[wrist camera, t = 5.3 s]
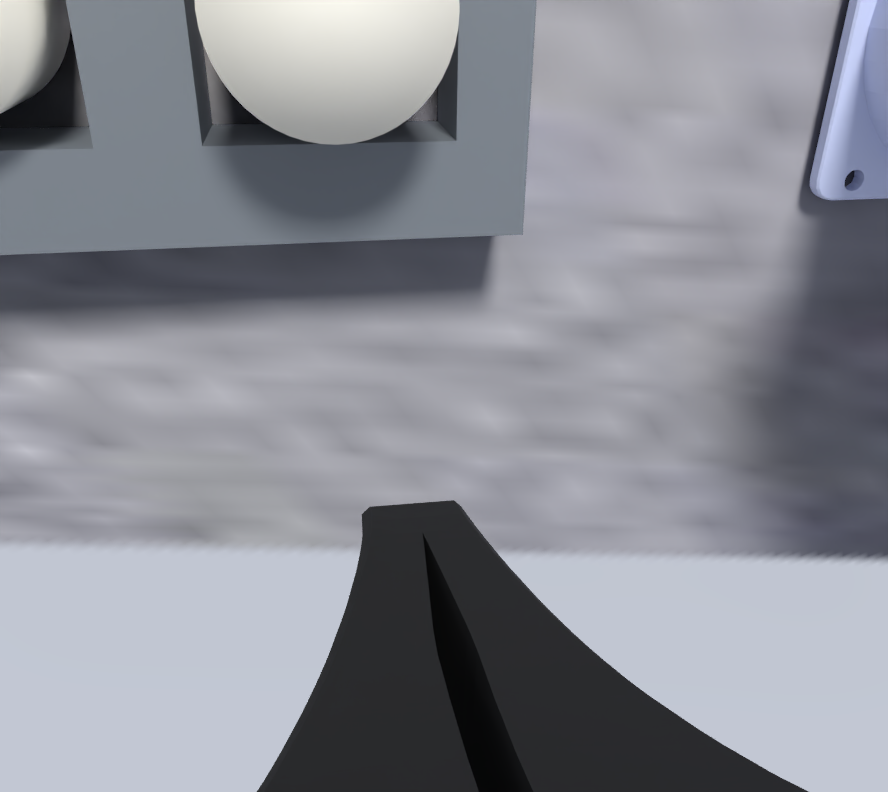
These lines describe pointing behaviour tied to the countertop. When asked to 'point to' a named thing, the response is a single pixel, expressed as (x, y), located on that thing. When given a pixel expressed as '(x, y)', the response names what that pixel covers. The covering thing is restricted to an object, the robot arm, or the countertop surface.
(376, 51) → the button
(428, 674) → the robot arm
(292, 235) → the board
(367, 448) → the countertop surface
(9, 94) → the button
